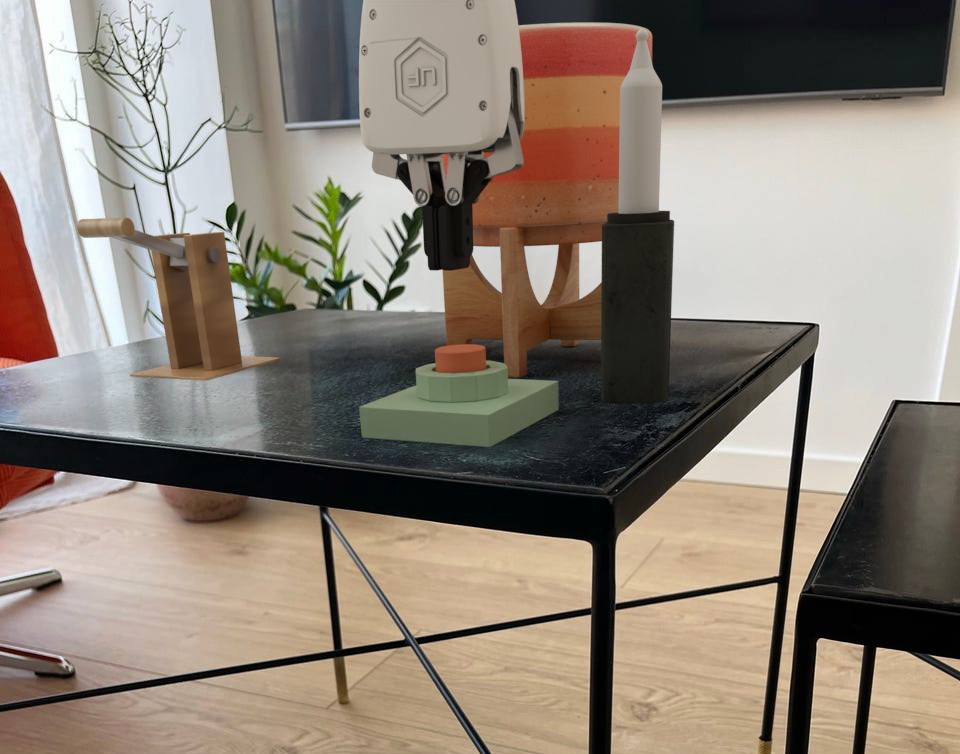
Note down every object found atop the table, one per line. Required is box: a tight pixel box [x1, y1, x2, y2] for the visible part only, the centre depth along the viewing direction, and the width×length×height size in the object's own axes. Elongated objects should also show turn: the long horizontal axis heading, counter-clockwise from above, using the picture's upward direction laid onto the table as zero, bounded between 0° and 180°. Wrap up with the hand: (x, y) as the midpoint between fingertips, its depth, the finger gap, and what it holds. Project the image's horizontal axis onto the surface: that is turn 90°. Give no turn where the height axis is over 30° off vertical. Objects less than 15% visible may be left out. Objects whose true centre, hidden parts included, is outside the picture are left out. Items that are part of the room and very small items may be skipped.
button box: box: [358, 360, 560, 448], centre depth 73 cm, size 12×10×4 cm
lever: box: [76, 217, 189, 272], centre depth 88 cm, size 12×5×2 cm, turn 154°
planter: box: [441, 21, 653, 379], centre depth 92 cm, size 20×20×27 cm
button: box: [434, 343, 487, 373], centre depth 72 cm, size 4×4×2 cm
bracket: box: [129, 231, 281, 381], centre depth 94 cm, size 11×9×13 cm
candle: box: [600, 29, 675, 404], centre depth 75 cm, size 5×5×25 cm
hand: (449, 268), depth 69 cm, fingers closed
